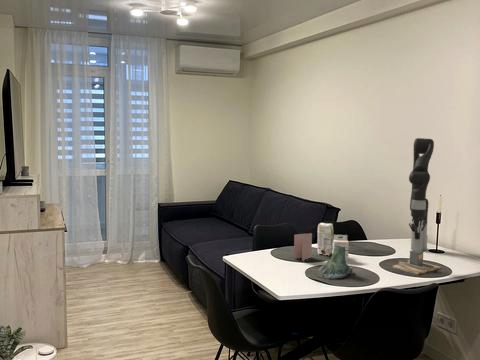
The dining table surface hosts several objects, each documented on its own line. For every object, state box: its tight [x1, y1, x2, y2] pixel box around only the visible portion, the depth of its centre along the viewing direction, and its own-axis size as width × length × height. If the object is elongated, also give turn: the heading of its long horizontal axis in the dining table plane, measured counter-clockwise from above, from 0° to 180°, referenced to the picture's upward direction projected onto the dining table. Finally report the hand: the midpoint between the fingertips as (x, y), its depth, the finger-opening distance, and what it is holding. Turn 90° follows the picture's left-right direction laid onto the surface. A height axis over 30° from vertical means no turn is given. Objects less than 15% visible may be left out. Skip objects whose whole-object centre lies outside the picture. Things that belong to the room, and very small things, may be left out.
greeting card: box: [293, 232, 313, 262], centre depth 272 cm, size 11×7×15 cm, turn 108°
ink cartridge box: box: [333, 234, 350, 262], centre depth 272 cm, size 9×5×15 cm, turn 84°
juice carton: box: [316, 222, 334, 257], centre depth 285 cm, size 8×9×19 cm
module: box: [409, 249, 424, 267], centre depth 255 cm, size 5×5×8 cm
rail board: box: [392, 258, 441, 276], centre depth 256 cm, size 20×16×2 cm
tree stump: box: [317, 245, 354, 279], centre depth 246 cm, size 18×20×18 cm
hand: (417, 239), depth 254 cm, fingers closed
